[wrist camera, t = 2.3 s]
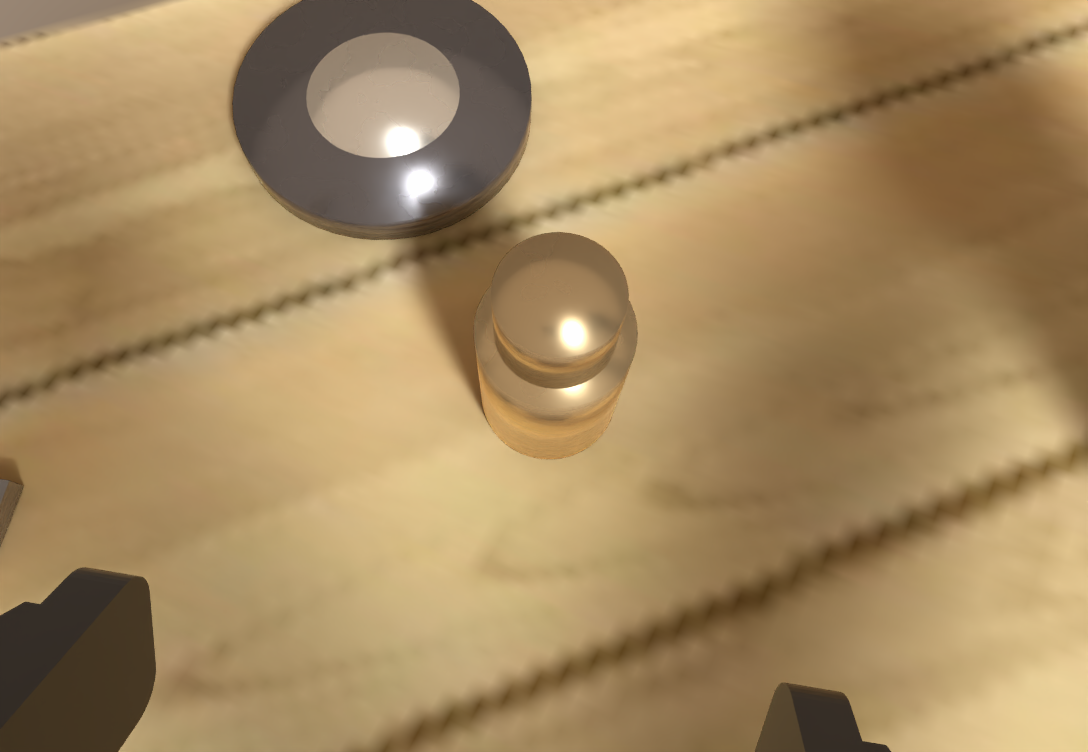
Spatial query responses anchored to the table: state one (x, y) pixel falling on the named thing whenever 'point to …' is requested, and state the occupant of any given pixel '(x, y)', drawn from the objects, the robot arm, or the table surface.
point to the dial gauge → (7, 503)
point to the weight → (554, 344)
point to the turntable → (383, 113)
